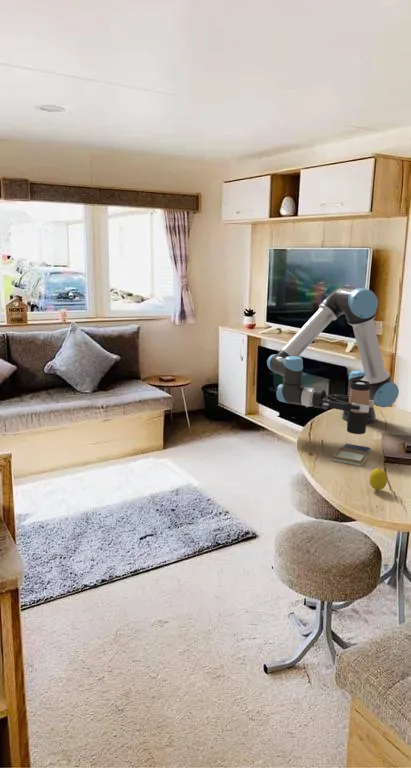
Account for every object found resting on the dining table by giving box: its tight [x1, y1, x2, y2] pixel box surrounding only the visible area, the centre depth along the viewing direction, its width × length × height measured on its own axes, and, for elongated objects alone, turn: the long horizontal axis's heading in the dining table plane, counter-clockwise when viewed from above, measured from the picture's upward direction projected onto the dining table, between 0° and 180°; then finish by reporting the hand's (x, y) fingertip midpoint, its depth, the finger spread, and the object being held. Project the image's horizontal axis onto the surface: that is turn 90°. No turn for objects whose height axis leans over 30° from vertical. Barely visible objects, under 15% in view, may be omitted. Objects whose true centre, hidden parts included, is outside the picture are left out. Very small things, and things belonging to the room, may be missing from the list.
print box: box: [332, 446, 369, 467], centre depth 212 cm, size 11×11×2 cm
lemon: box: [368, 467, 388, 492], centre depth 183 cm, size 6×6×8 cm
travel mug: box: [346, 380, 371, 435], centre depth 218 cm, size 8×8×20 cm
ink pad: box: [342, 443, 372, 456], centre depth 220 cm, size 8×10×1 cm
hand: (371, 406), depth 215 cm, fingers closed on travel mug, 7 cm apart
